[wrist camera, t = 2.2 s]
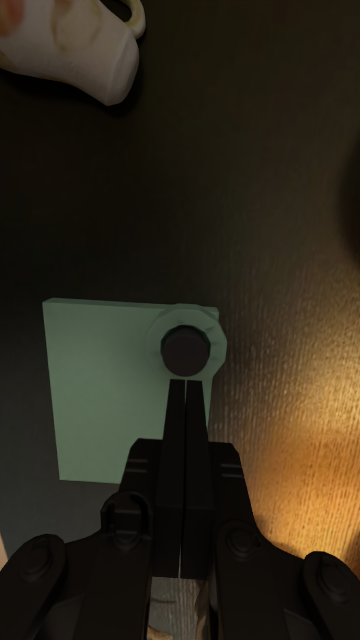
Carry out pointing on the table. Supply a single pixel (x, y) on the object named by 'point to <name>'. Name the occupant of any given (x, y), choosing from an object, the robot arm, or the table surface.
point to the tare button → (185, 352)
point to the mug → (72, 44)
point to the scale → (116, 377)
